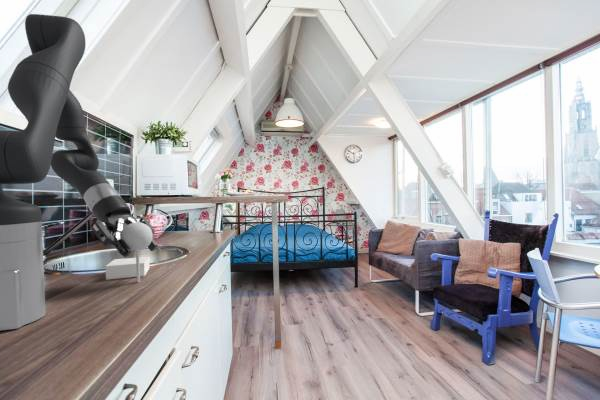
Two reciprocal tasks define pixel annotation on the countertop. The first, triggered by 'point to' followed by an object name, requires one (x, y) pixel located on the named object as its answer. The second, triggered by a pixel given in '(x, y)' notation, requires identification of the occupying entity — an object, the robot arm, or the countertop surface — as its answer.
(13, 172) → the robot arm
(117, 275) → the white soap bar
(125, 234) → the lollipop
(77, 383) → the countertop surface
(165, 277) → the countertop surface
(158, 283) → the countertop surface
